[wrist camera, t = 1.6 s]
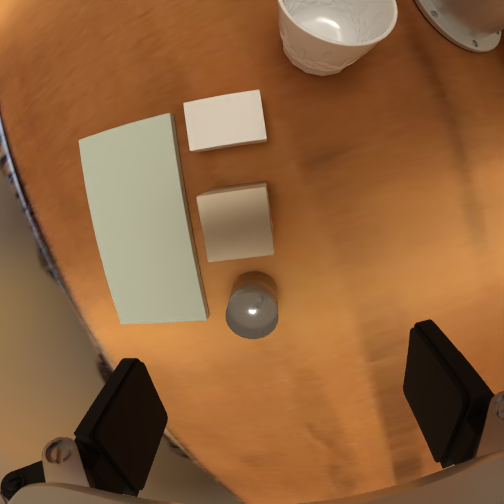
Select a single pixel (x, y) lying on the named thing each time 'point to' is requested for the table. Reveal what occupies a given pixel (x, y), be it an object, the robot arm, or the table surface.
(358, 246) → the table surface
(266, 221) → the maple block
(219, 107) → the white block
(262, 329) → the metal cylinder
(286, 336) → the table surface
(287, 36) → the white cup
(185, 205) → the sage board
